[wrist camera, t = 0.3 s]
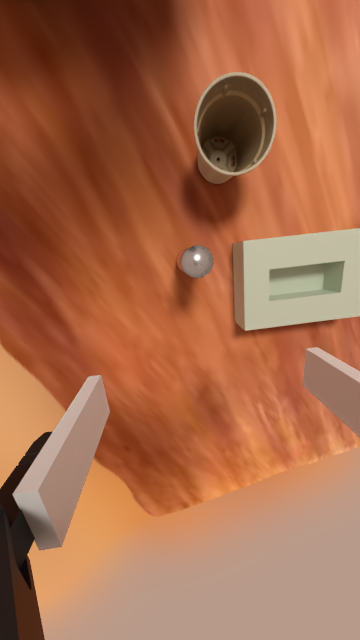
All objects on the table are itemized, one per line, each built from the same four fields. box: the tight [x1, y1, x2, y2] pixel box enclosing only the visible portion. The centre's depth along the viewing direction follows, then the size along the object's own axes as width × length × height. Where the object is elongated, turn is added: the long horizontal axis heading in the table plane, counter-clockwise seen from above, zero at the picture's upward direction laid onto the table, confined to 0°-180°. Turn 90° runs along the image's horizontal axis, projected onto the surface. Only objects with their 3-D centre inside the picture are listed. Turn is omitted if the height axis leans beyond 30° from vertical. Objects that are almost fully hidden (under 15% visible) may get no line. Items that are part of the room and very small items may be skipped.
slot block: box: [233, 228, 360, 331], centre depth 35 cm, size 14×20×5 cm
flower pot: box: [194, 72, 276, 184], centre depth 27 cm, size 9×9×9 cm
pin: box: [176, 245, 213, 278], centre depth 29 cm, size 4×4×12 cm
